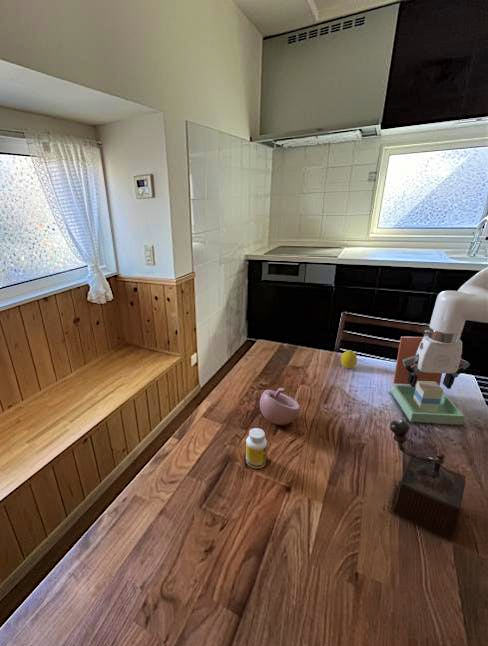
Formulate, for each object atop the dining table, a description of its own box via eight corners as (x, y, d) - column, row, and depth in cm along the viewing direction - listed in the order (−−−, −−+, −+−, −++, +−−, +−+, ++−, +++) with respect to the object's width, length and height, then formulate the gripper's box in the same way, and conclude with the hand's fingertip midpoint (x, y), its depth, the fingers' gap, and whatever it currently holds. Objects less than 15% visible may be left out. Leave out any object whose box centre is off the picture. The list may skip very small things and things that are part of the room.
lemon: (341, 371, 129) (343, 353, 125) (338, 364, 134) (341, 346, 130) (356, 372, 127) (359, 354, 124) (353, 365, 132) (356, 347, 129)
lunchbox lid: (450, 338, 104) (448, 337, 105) (401, 337, 107) (400, 336, 107) (439, 385, 109) (438, 384, 110) (393, 383, 112) (393, 382, 113)
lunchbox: (461, 426, 98) (465, 416, 96) (409, 423, 100) (412, 413, 99) (435, 395, 112) (438, 386, 110) (391, 393, 114) (393, 384, 113)
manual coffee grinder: (456, 504, 75) (479, 442, 68) (449, 541, 68) (474, 477, 61) (380, 471, 85) (393, 414, 78) (367, 500, 78) (380, 440, 70)
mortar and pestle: (307, 424, 103) (310, 393, 98) (275, 438, 98) (277, 406, 94) (281, 404, 113) (282, 375, 108) (251, 416, 108) (252, 386, 104)
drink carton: (429, 402, 107) (435, 381, 104) (437, 412, 103) (443, 390, 100) (411, 401, 108) (417, 380, 105) (418, 411, 104) (424, 389, 100)
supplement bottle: (266, 470, 88) (267, 441, 84) (245, 468, 89) (245, 439, 85) (266, 455, 93) (267, 426, 89) (246, 453, 94) (246, 425, 90)
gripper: (415, 339, 93) (402, 390, 101) (486, 341, 90) (467, 394, 97) (404, 328, 100) (393, 377, 107) (470, 330, 97) (454, 380, 104)
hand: (428, 385), depth 102 cm, fingers open, 9 cm apart
